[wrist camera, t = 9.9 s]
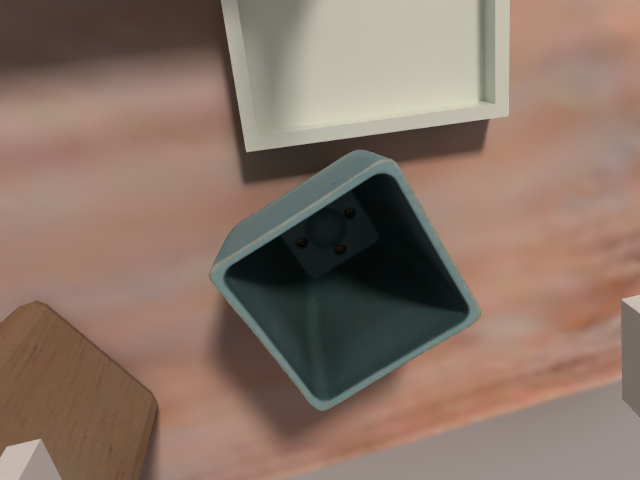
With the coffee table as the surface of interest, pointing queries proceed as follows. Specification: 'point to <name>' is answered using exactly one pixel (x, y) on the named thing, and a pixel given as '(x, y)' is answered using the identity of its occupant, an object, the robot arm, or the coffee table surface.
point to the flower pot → (344, 279)
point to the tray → (364, 66)
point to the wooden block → (70, 398)
